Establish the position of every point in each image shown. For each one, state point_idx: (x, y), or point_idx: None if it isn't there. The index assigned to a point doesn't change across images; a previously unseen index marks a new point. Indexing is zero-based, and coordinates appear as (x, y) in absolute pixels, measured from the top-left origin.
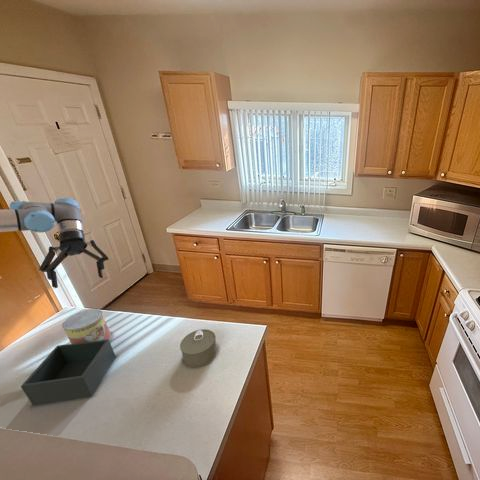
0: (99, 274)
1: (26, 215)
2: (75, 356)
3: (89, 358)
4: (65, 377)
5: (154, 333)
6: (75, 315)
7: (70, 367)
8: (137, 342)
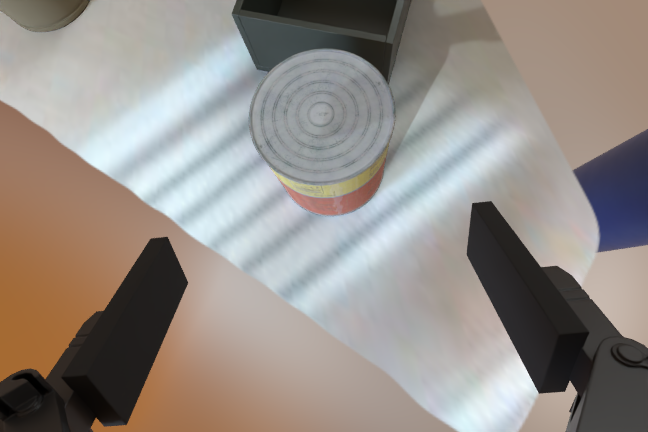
0: (154, 247)
1: None
2: None
3: None
4: (368, 30)
5: (153, 130)
6: (359, 154)
7: None
8: (202, 108)
